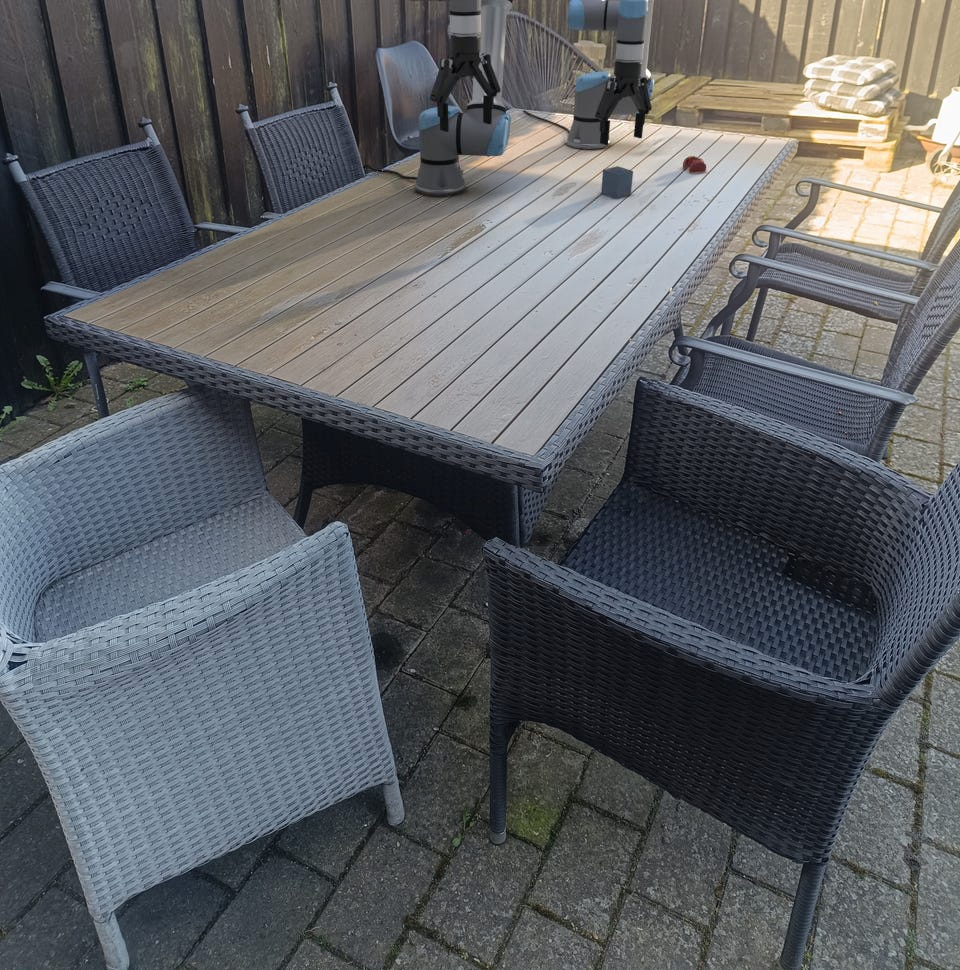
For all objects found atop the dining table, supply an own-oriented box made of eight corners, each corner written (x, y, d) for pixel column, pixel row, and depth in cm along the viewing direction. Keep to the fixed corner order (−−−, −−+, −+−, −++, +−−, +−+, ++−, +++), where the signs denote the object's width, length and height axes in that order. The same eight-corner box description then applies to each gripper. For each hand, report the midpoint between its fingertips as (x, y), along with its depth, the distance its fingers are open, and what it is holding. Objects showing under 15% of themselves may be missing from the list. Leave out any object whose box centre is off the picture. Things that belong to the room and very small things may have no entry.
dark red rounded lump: (697, 152, 277) (708, 159, 271) (696, 165, 280) (707, 172, 273) (682, 154, 276) (692, 161, 270) (680, 167, 279) (691, 174, 272)
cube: (630, 195, 254) (633, 171, 250) (616, 198, 251) (618, 174, 247) (615, 189, 258) (617, 166, 254) (601, 193, 256) (603, 169, 251)
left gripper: (496, 28, 213) (496, 117, 225) (413, 37, 201) (417, 131, 213) (515, 31, 208) (513, 122, 220) (431, 40, 196) (434, 136, 208)
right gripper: (650, 54, 242) (642, 132, 254) (586, 62, 230) (580, 144, 242) (669, 57, 237) (660, 137, 249) (605, 66, 225) (598, 149, 237)
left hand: (466, 127), depth 217 cm, fingers open, 13 cm apart
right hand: (621, 140), depth 246 cm, fingers open, 13 cm apart
